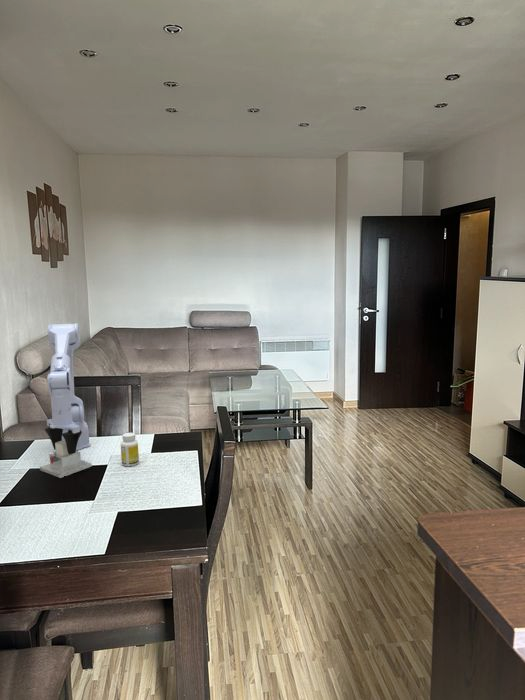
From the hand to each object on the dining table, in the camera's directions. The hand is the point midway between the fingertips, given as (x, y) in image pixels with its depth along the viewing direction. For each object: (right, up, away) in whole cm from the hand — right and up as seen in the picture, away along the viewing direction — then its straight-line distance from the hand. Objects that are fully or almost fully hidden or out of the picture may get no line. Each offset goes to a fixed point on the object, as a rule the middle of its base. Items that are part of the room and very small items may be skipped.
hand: (64, 451), depth 155 cm
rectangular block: (0, -6, +1) cm, 6 cm away
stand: (0, -6, +1) cm, 6 cm away
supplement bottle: (+20, -5, +4) cm, 21 cm away
